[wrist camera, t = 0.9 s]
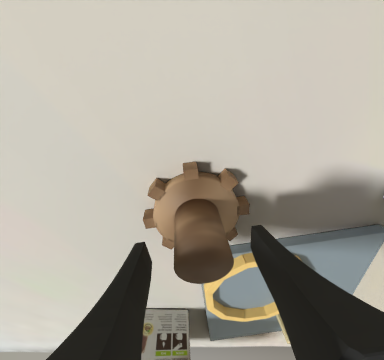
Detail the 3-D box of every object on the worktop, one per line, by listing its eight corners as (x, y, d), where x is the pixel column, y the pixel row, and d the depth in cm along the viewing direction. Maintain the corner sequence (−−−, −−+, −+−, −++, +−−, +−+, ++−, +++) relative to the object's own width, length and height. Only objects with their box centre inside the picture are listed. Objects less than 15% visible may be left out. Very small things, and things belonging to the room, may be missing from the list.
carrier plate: (379, 224, 18) (442, 269, 14) (330, 315, 28) (359, 358, 23) (196, 250, 18) (202, 304, 14) (209, 332, 28) (215, 380, 23)
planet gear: (246, 154, 13) (285, 197, 9) (243, 235, 18) (268, 294, 13) (132, 170, 13) (107, 222, 9) (157, 247, 18) (149, 312, 13)
